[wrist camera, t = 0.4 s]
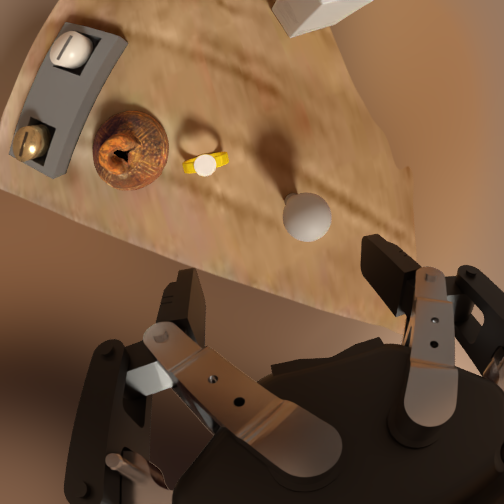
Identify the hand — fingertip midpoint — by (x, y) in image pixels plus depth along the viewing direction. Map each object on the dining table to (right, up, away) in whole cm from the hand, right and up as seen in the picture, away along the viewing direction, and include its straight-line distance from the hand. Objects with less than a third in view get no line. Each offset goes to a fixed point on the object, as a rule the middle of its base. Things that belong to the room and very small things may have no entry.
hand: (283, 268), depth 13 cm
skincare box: (+6, +35, +15) cm, 38 cm away
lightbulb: (+4, +9, +28) cm, 30 cm away
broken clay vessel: (-19, +15, +22) cm, 33 cm away
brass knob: (-33, +17, +15) cm, 40 cm away
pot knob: (-25, +28, +11) cm, 39 cm away
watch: (-8, +14, +24) cm, 29 cm away
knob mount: (-29, +24, +16) cm, 41 cm away
